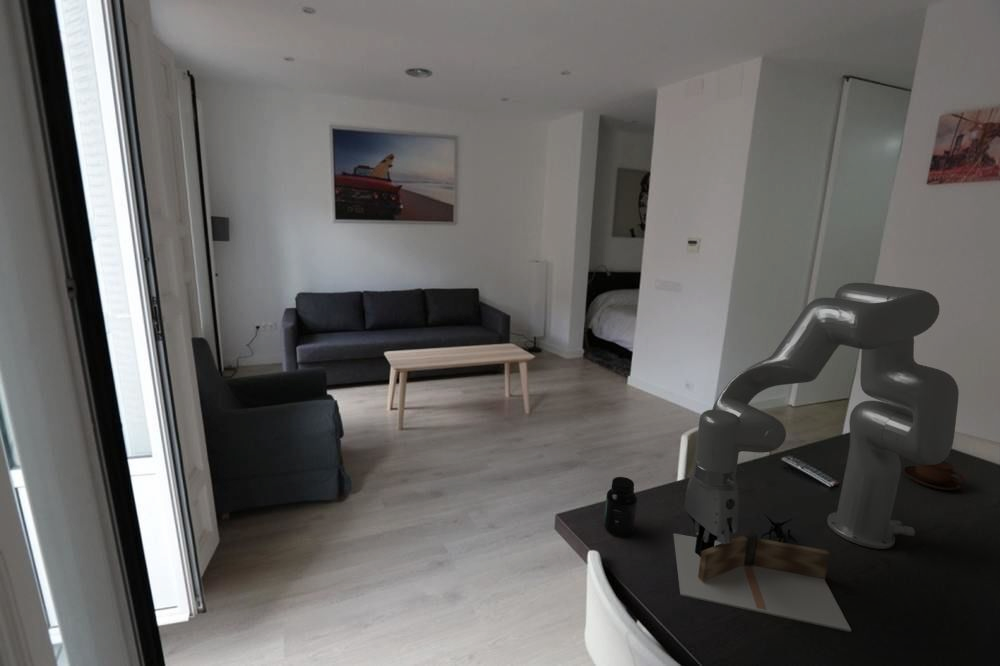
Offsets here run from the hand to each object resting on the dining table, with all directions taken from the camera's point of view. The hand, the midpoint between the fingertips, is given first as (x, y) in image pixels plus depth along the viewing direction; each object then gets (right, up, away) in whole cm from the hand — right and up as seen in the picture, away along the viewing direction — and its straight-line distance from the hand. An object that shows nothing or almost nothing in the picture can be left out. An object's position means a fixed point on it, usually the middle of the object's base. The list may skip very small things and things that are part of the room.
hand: (703, 554), depth 96 cm
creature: (+21, -2, +9) cm, 23 cm away
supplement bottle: (-14, 0, +13) cm, 19 cm away
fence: (+16, -3, 0) cm, 16 cm away
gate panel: (+3, -3, -1) cm, 4 cm away
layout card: (+9, -4, -2) cm, 10 cm away
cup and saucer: (+80, +3, +36) cm, 88 cm away
